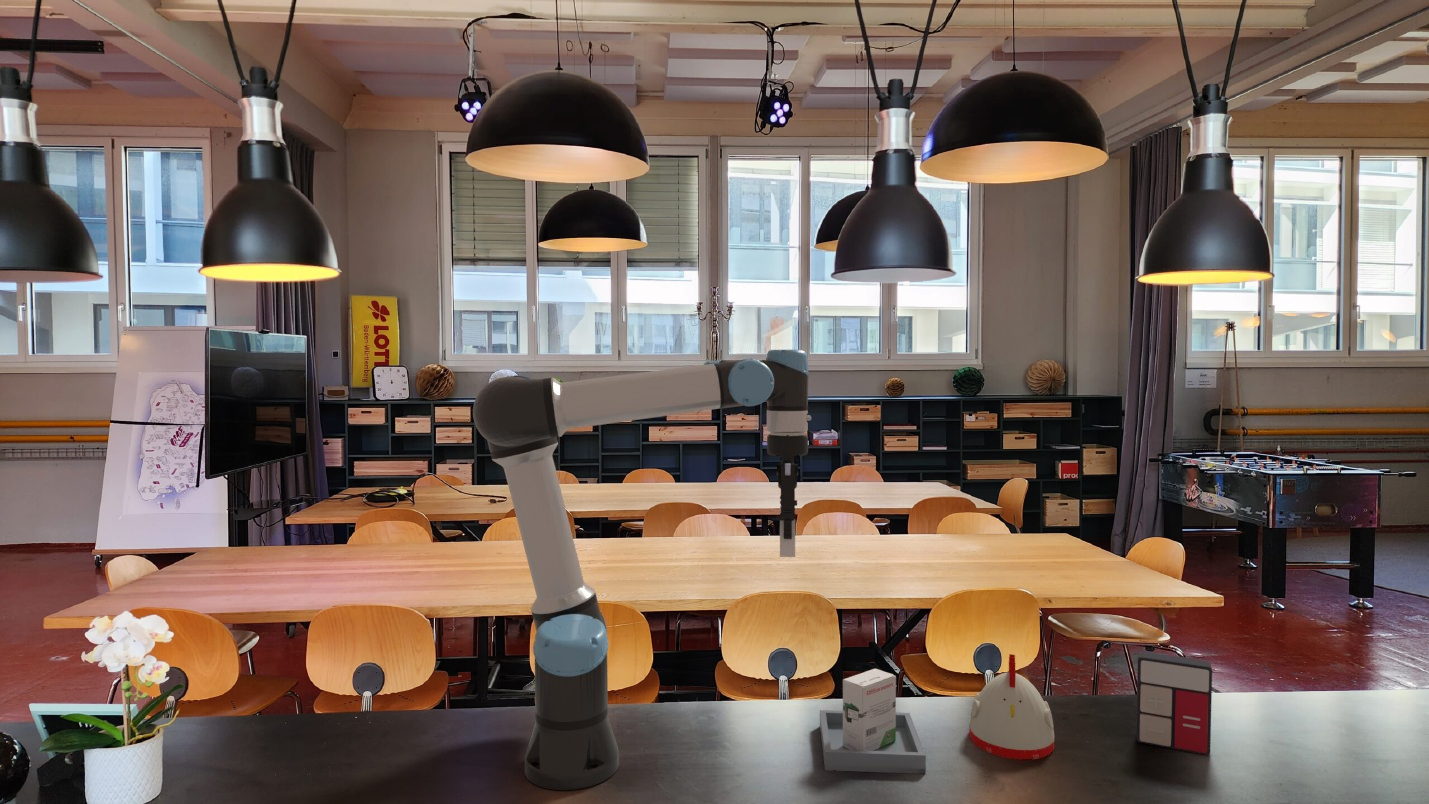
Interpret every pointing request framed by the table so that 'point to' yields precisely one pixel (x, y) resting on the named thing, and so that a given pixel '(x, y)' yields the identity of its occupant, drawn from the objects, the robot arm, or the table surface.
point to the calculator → (1174, 702)
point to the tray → (889, 758)
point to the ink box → (869, 710)
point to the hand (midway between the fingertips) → (787, 548)
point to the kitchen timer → (1012, 718)
